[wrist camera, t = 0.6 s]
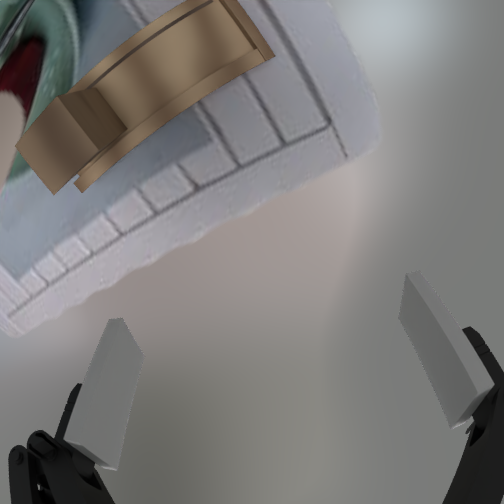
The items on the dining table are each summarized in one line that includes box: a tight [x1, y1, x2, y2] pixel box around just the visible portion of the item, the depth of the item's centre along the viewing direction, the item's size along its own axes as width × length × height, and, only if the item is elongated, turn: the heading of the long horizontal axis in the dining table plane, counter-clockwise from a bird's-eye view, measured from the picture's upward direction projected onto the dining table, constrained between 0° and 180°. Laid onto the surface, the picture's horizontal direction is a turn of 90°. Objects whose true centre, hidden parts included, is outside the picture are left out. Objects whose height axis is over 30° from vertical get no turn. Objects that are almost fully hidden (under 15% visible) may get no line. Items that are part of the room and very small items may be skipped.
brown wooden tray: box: [66, 0, 275, 193], centre depth 25 cm, size 24×10×4 cm, turn 121°
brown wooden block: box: [15, 88, 128, 195], centre depth 22 cm, size 6×8×9 cm
